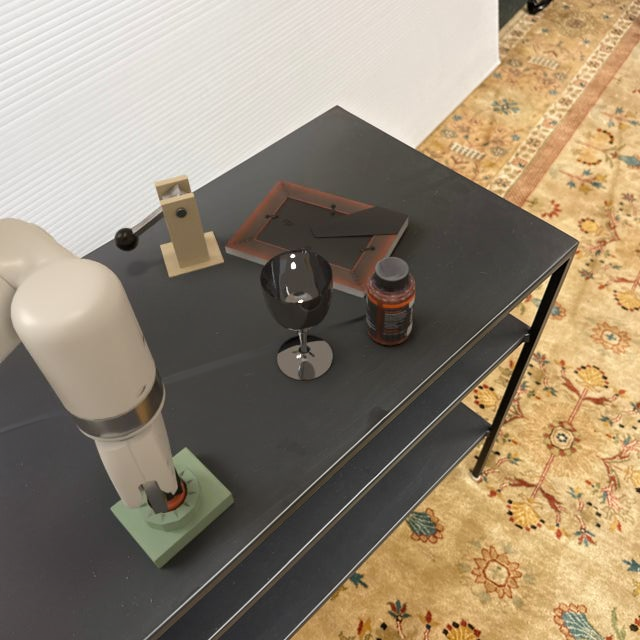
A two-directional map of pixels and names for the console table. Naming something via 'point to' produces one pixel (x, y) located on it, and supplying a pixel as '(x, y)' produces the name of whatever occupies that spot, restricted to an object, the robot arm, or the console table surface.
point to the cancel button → (177, 500)
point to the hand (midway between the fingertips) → (166, 491)
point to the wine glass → (299, 309)
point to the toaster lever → (143, 224)
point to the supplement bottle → (390, 302)
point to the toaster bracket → (185, 231)
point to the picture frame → (320, 232)
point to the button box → (176, 511)
